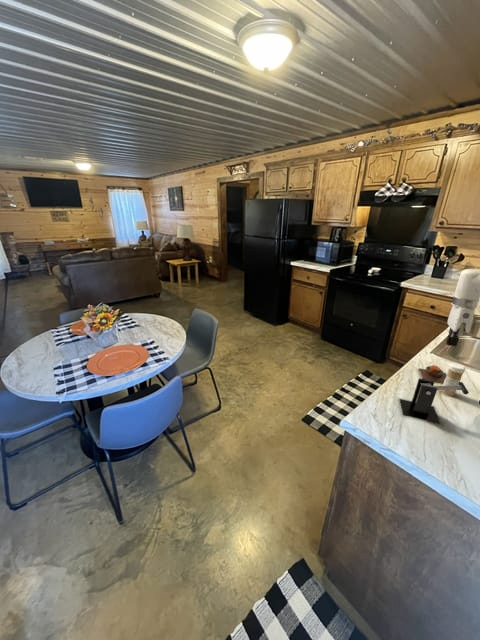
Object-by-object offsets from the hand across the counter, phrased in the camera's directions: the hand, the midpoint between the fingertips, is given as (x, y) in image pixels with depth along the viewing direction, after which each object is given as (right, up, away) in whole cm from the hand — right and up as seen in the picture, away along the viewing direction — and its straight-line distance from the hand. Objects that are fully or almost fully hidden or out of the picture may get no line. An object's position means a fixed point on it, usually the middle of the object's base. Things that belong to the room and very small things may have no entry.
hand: (451, 344), depth 107 cm
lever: (-18, -14, -19) cm, 29 cm away
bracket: (-22, -23, -13) cm, 35 cm away
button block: (-2, -15, +7) cm, 17 cm away
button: (-2, -12, +7) cm, 14 cm away
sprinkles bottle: (-4, -20, -3) cm, 20 cm away
